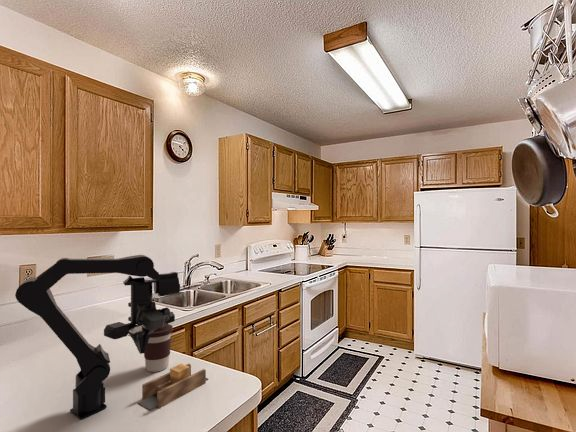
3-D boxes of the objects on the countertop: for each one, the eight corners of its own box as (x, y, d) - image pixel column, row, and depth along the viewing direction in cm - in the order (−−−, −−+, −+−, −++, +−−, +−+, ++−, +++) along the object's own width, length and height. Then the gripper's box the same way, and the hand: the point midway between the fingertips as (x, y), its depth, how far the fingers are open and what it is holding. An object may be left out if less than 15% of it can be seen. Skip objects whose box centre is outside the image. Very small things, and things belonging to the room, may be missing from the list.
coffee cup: (163, 358, 117) (163, 317, 117) (178, 366, 111) (178, 322, 111) (136, 368, 109) (136, 324, 109) (150, 377, 103) (150, 330, 103)
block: (178, 385, 93) (178, 372, 94) (170, 382, 96) (170, 368, 96) (189, 380, 97) (189, 366, 97) (181, 376, 99) (181, 363, 99)
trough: (152, 411, 84) (152, 396, 84) (135, 402, 89) (135, 387, 89) (210, 380, 101) (210, 367, 101) (193, 373, 105) (193, 361, 105)
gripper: (125, 310, 81) (125, 373, 80) (186, 296, 96) (186, 348, 96) (102, 304, 87) (102, 362, 87) (163, 291, 102) (163, 340, 102)
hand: (141, 353), depth 93 cm, fingers closed
